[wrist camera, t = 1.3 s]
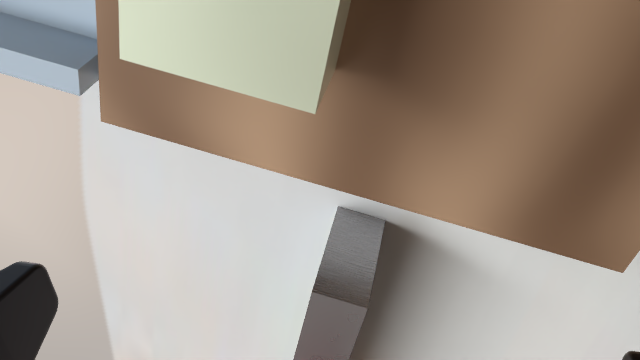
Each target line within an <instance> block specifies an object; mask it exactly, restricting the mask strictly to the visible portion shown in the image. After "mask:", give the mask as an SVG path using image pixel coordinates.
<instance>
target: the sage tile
mask: <svg viewBox="0 0 640 360" xmlns="http://www.w3.org/2000/svg"><path fill="white" fill-rule="evenodd" d="M118 2H119V48H120V59H122V60H126V61H129V62H133V63H136V64H140V65H143V66H147V67H150V68H154V69H157V70H161V71H164V72H168V73H171V74H175V75H178V76H182V77H185V78H189V79H193V80H196V81H200V82H203V83H207V84H210V85H214V86H217V87H221V88H224V89H228V90H231V91H235V92H238V93H242V94H245V95H249V96H252V97H256V98H259V99H263V100H266V101H270V102H274V103H277V104H281V105H284V106H288V107H291V108H295V109H298V110H302V111H305V112H309V113H312V114H315V113H316V111H317V109H318V107H319V105H320V102H321V100H322V98H323V96H324V94H325V91H326V89H327V87H328V85H329V82H330V80H331V78H332V76H333V74H334V71H335V69H336V64H337V60H338V55H339V51H340V47H341V42H342V38H343V34H344V29H345V25H346V21H347V16H348V12H349V8H350V3H351V0H118Z"/></svg>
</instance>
